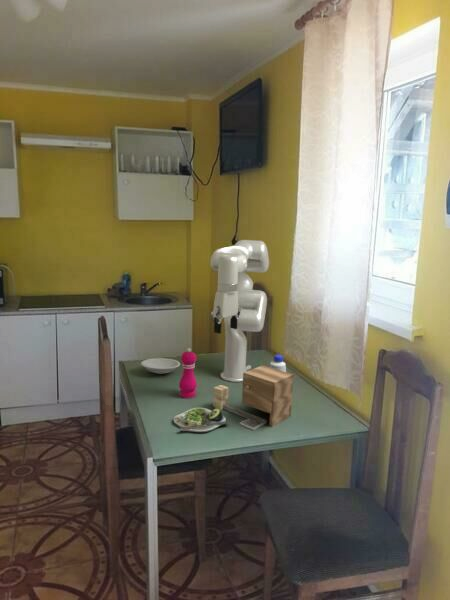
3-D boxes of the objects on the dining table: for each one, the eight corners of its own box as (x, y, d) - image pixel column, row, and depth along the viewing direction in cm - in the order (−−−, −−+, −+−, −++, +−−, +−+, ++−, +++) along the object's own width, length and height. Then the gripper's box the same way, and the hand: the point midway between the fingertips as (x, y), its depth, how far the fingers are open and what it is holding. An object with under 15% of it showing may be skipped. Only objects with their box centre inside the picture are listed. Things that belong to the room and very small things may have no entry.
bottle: (285, 401, 201) (288, 353, 197) (281, 407, 194) (285, 358, 190) (269, 398, 203) (272, 351, 199) (265, 405, 197) (267, 356, 193)
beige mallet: (219, 404, 196) (220, 384, 194) (268, 422, 181) (269, 401, 180) (213, 407, 193) (213, 387, 191) (261, 426, 178) (263, 405, 177)
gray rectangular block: (250, 420, 183) (250, 417, 183) (263, 426, 179) (263, 422, 179) (240, 426, 179) (240, 422, 178) (253, 431, 175) (253, 427, 175)
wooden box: (260, 405, 196) (262, 365, 193) (290, 416, 187) (293, 374, 184) (239, 415, 186) (241, 373, 183) (269, 427, 177) (272, 383, 174)
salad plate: (197, 442, 165) (197, 429, 164) (160, 425, 177) (161, 413, 176) (234, 424, 180) (235, 412, 179) (199, 409, 191) (199, 398, 190)
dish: (181, 369, 234) (181, 359, 233) (177, 380, 219) (178, 369, 218) (144, 367, 234) (144, 357, 233) (137, 378, 220) (137, 367, 219)
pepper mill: (194, 399, 199) (195, 351, 195) (176, 397, 200) (177, 349, 196) (198, 393, 206) (200, 346, 202) (181, 391, 207) (182, 344, 203)
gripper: (234, 283, 201) (232, 325, 205) (205, 288, 188) (203, 332, 192) (248, 286, 197) (246, 328, 200) (220, 291, 184) (218, 336, 187)
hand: (225, 330), depth 196 cm, fingers open, 9 cm apart
